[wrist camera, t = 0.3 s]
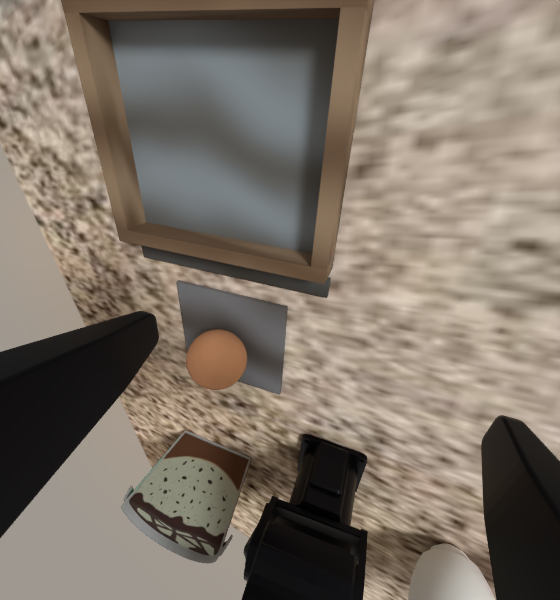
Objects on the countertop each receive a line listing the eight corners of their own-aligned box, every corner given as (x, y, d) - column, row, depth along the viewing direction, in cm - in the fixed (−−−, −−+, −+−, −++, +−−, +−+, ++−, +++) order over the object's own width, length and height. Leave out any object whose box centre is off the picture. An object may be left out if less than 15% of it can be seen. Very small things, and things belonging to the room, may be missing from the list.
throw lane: (311, 401, 29) (304, 422, 27) (166, 356, 33) (151, 371, 31) (375, -10, 14) (370, -28, 12) (95, -1, 18) (57, -13, 16)
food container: (178, 451, 44) (126, 529, 36) (174, 425, 40) (116, 504, 32) (258, 487, 41) (222, 579, 33) (262, 462, 38) (222, 559, 30)
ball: (256, 368, 29) (231, 410, 25) (208, 354, 30) (178, 392, 26) (256, 325, 26) (229, 365, 22) (204, 312, 28) (169, 347, 24)
